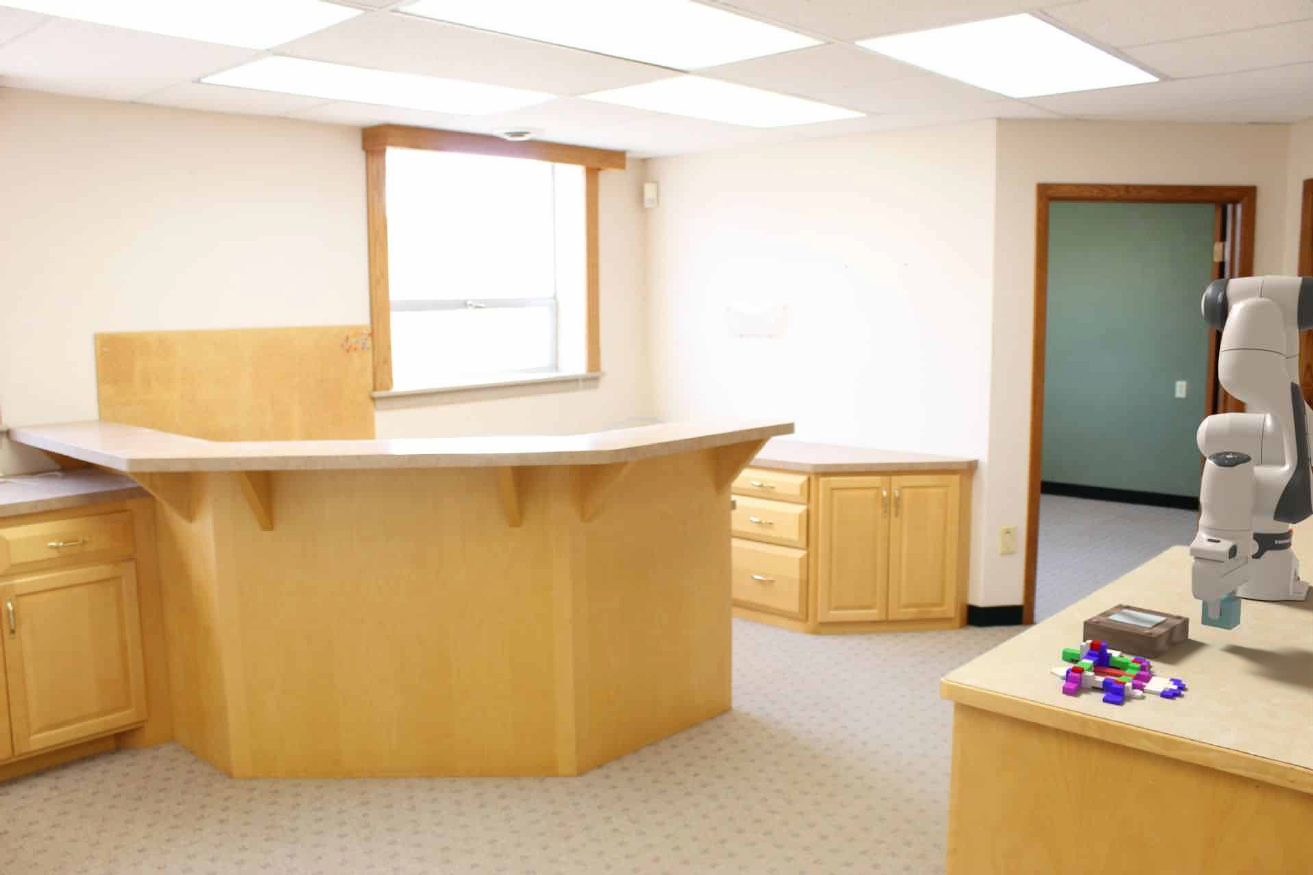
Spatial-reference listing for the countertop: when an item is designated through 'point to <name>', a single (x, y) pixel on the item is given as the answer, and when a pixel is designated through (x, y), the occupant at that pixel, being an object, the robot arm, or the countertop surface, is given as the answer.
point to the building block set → (1112, 674)
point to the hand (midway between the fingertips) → (1221, 613)
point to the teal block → (1224, 613)
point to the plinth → (1137, 630)
